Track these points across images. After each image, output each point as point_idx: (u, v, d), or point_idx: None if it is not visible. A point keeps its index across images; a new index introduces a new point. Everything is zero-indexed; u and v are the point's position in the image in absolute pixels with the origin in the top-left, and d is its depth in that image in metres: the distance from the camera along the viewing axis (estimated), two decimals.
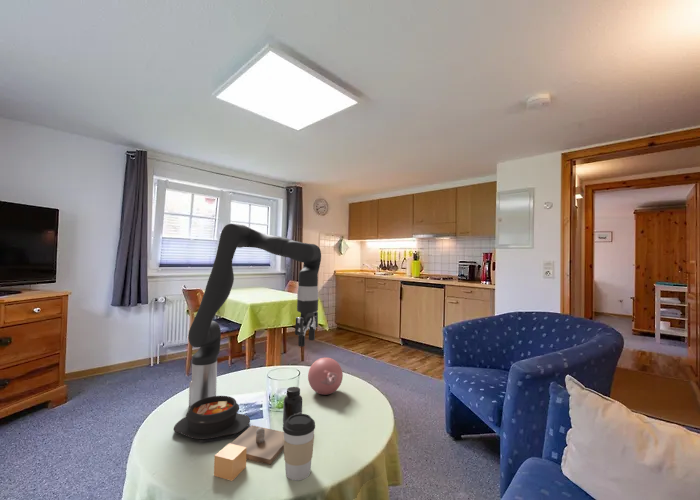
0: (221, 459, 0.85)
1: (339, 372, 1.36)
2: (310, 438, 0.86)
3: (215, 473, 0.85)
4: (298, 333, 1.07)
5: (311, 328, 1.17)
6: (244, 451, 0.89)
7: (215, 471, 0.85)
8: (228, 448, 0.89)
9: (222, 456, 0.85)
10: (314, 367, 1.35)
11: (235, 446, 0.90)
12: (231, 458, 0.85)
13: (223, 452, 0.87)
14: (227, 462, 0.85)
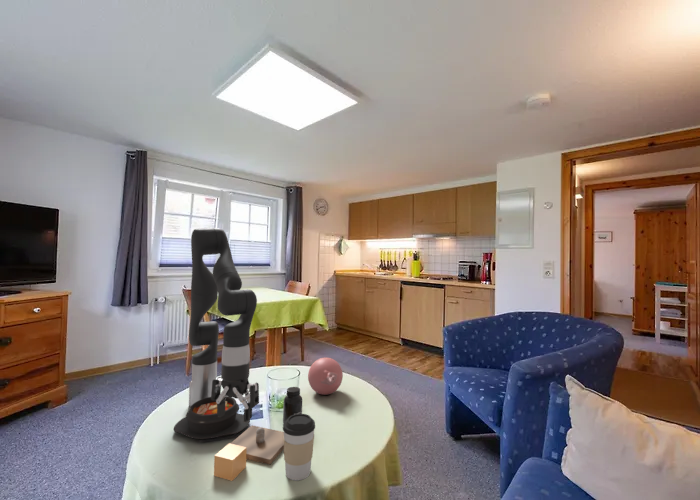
0: (221, 459, 0.85)
1: (339, 372, 1.36)
2: (310, 438, 0.86)
3: (215, 473, 0.85)
4: (256, 403, 0.86)
5: (222, 400, 0.89)
6: (244, 451, 0.89)
7: (215, 471, 0.85)
8: (228, 448, 0.89)
9: (222, 456, 0.85)
10: (314, 367, 1.35)
11: (235, 446, 0.90)
12: (231, 458, 0.85)
13: (223, 452, 0.87)
14: (227, 462, 0.85)
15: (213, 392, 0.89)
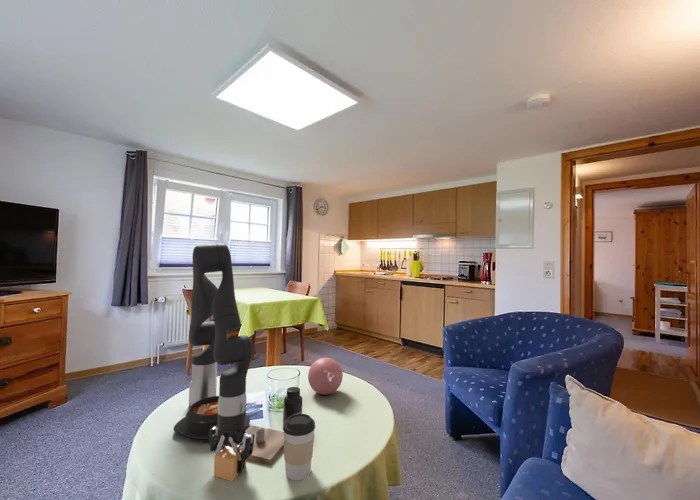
0: (221, 459, 0.85)
1: (339, 372, 1.36)
2: (310, 438, 0.86)
3: (215, 473, 0.85)
4: (249, 455, 0.86)
5: None
6: None
7: (215, 471, 0.85)
8: (228, 448, 0.89)
9: (222, 456, 0.85)
10: (314, 367, 1.35)
11: None
12: (231, 458, 0.85)
13: (223, 452, 0.87)
14: (227, 462, 0.85)
15: (211, 443, 0.88)
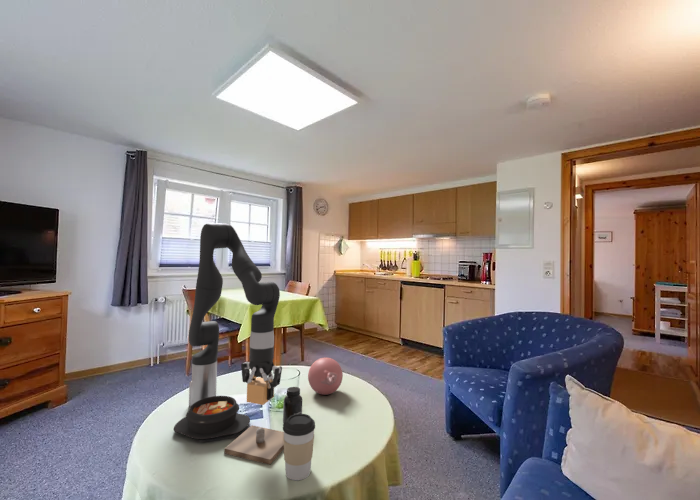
0: (253, 387, 0.97)
1: (339, 372, 1.36)
2: (310, 438, 0.86)
3: (248, 399, 0.98)
4: (277, 384, 0.98)
5: None
6: None
7: (248, 397, 0.98)
8: (258, 380, 1.01)
9: (254, 384, 0.98)
10: (314, 367, 1.35)
11: None
12: (262, 386, 0.97)
13: (254, 382, 0.99)
14: (259, 389, 0.97)
15: (243, 374, 1.01)
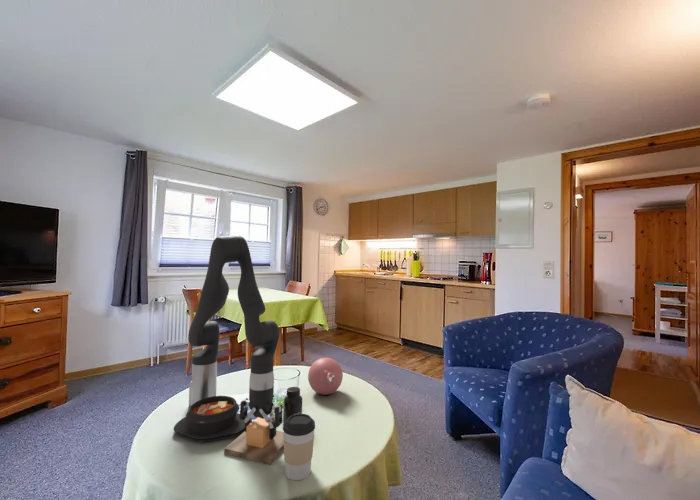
0: (253, 429, 0.97)
1: (339, 372, 1.36)
2: (310, 438, 0.86)
3: (247, 442, 0.98)
4: (280, 423, 0.98)
5: None
6: None
7: (247, 440, 0.98)
8: (257, 421, 1.01)
9: (253, 427, 0.97)
10: (314, 367, 1.35)
11: (263, 419, 1.02)
12: (261, 428, 0.97)
13: (254, 424, 0.99)
14: (258, 431, 0.97)
15: (241, 412, 1.01)
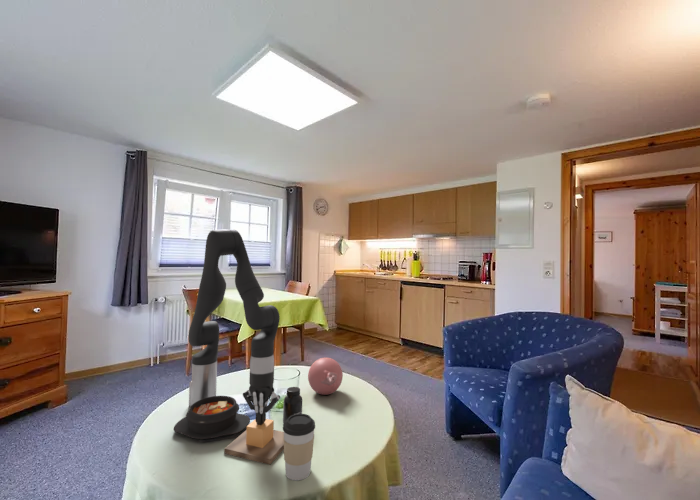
0: (253, 429, 0.97)
1: (339, 372, 1.36)
2: (310, 438, 0.86)
3: (247, 442, 0.98)
4: (269, 409, 0.99)
5: (259, 408, 1.00)
6: (272, 423, 1.01)
7: (247, 440, 0.98)
8: None
9: (253, 427, 0.97)
10: (314, 367, 1.35)
11: None
12: (261, 428, 0.97)
13: (254, 424, 0.99)
14: (258, 431, 0.97)
15: (249, 402, 1.00)
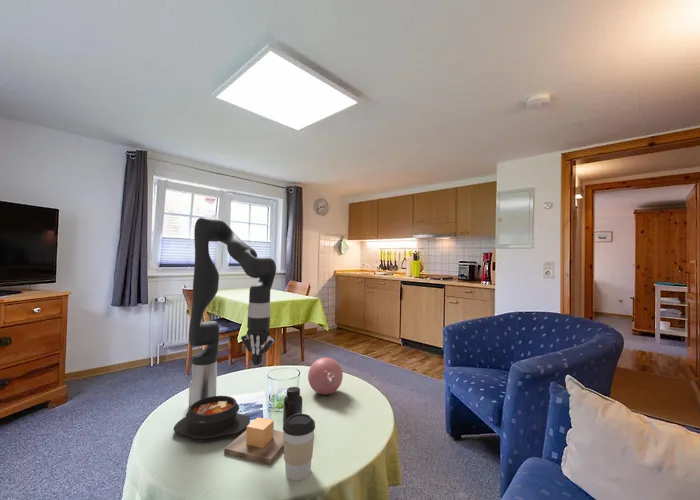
0: (253, 429, 0.97)
1: (339, 372, 1.36)
2: (310, 438, 0.86)
3: (247, 442, 0.98)
4: None
5: None
6: (272, 423, 1.01)
7: (247, 440, 0.98)
8: (257, 421, 1.01)
9: (253, 427, 0.97)
10: (314, 367, 1.35)
11: (263, 419, 1.02)
12: (261, 428, 0.97)
13: (254, 424, 0.99)
14: (258, 431, 0.97)
15: (246, 345, 1.09)
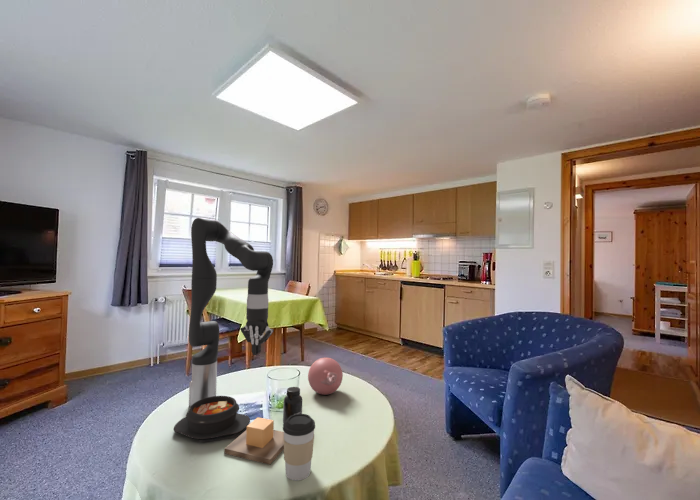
0: (253, 429, 0.97)
1: (339, 372, 1.36)
2: (310, 438, 0.86)
3: (247, 442, 0.98)
4: (264, 341, 1.12)
5: None
6: (272, 423, 1.01)
7: (247, 440, 0.98)
8: (257, 421, 1.01)
9: (253, 427, 0.97)
10: (314, 367, 1.35)
11: (263, 419, 1.02)
12: (261, 428, 0.97)
13: (254, 424, 0.99)
14: (258, 431, 0.97)
15: (246, 336, 1.13)
